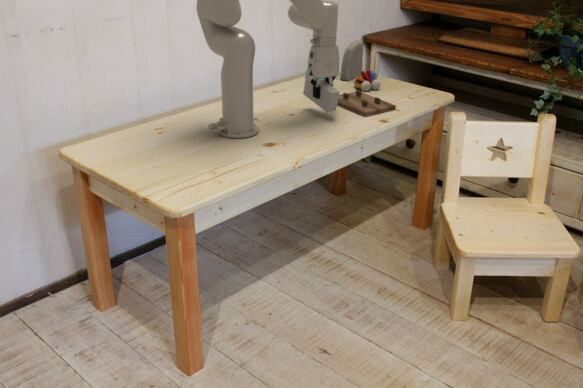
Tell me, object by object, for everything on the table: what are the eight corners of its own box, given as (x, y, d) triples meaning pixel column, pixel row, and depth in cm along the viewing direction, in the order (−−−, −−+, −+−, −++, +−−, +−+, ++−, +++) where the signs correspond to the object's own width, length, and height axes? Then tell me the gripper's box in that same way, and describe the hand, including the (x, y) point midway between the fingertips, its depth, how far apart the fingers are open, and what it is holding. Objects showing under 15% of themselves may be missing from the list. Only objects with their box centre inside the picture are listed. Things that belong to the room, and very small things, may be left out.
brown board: (364, 117, 210) (365, 107, 209) (327, 101, 225) (328, 91, 223) (395, 109, 218) (396, 99, 216) (358, 94, 232) (358, 85, 231)
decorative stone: (349, 82, 247) (351, 44, 240) (336, 79, 250) (338, 41, 243) (363, 76, 255) (366, 39, 248) (351, 73, 258) (353, 37, 251)
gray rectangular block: (327, 112, 206) (331, 93, 202) (303, 94, 215) (306, 75, 211) (335, 111, 208) (339, 91, 204) (311, 92, 216) (314, 73, 213)
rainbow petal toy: (350, 87, 242) (351, 68, 238) (371, 84, 245) (373, 65, 242) (361, 93, 235) (362, 74, 231) (383, 90, 238) (385, 71, 235)
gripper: (310, 46, 195) (307, 103, 202) (351, 41, 203) (347, 96, 211) (296, 41, 200) (294, 97, 208) (337, 36, 209) (333, 90, 217)
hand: (321, 96), depth 209 cm, fingers closed on gray rectangular block, 3 cm apart
